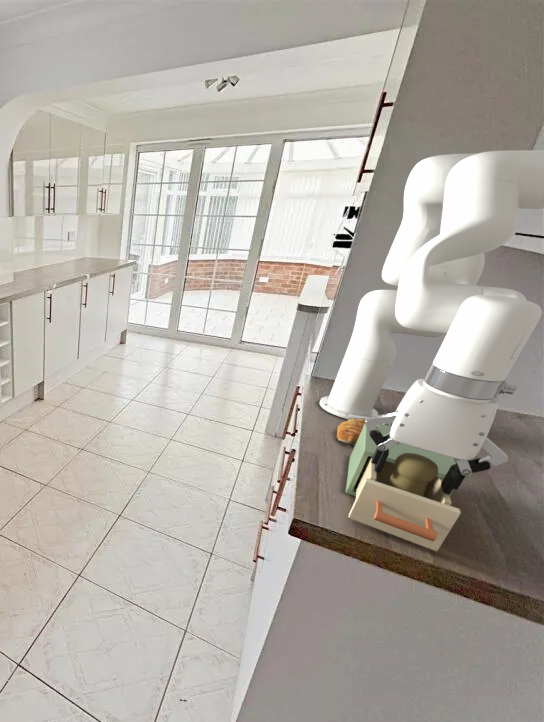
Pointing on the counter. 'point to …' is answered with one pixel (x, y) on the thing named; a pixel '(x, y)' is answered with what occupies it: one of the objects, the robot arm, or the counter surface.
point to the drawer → (403, 508)
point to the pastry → (350, 431)
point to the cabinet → (368, 448)
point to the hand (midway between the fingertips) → (409, 478)
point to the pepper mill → (412, 473)
